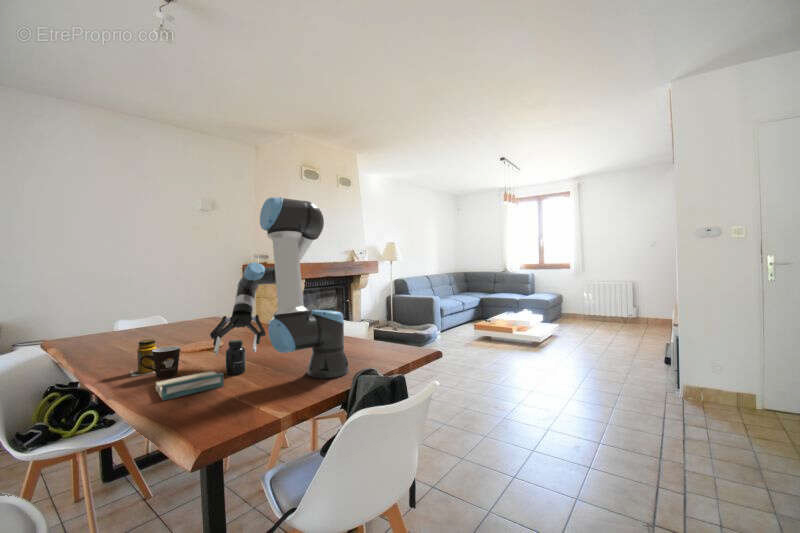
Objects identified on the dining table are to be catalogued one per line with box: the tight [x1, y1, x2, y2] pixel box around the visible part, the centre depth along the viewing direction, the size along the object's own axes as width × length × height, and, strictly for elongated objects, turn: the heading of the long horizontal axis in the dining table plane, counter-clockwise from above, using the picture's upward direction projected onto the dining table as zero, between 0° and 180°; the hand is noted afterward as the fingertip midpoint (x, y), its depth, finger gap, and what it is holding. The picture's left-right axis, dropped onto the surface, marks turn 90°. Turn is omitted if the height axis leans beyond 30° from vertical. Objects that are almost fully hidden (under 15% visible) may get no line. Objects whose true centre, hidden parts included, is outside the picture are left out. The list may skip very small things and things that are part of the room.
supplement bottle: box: [225, 339, 247, 376], centre depth 131 cm, size 7×7×12 cm
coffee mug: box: [140, 345, 181, 380], centre depth 128 cm, size 12×9×10 cm
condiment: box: [129, 339, 158, 377], centre depth 133 cm, size 7×8×12 cm
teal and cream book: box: [155, 370, 224, 401], centre depth 115 cm, size 13×17×4 cm
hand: (235, 352), depth 133 cm, fingers open, 13 cm apart
